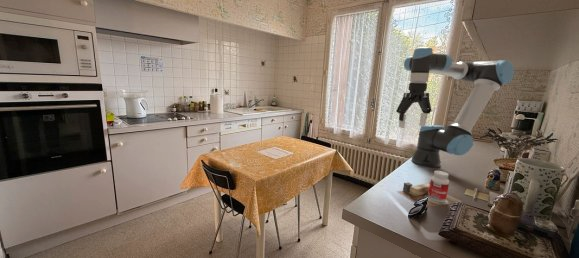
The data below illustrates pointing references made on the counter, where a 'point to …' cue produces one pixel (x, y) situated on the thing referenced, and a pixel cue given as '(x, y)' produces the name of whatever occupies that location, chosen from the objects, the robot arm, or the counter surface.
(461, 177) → the counter surface
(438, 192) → the pill bottle
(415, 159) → the robot arm
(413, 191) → the leg bar
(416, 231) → the counter surface
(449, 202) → the board
